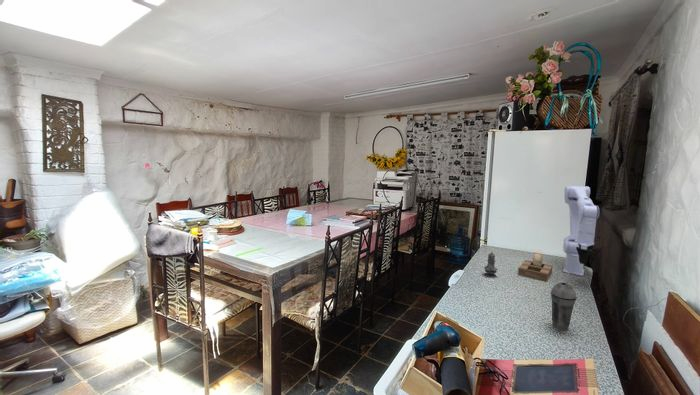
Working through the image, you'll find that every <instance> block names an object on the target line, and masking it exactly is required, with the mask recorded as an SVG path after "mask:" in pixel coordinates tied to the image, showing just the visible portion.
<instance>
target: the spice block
mask: <svg viewBox="0 0 700 395" xmlns="http://www.w3.org/2000/svg"><path fill="white" fill-rule="evenodd" d="M553 268H554V266H553V265H552V264H547V263H543V262H542V267H537V266H533V260H528V259H525V260H524V261H523V263H521V264H520V266H519V267H518V269H517V270H518V271H517V276H522V277H525V278H529V279H535V280H539V281H543V282H547V281H548V280H549V279H550V277H551V275H552V273H553Z"/></svg>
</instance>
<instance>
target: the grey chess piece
mask: <svg viewBox="0 0 700 395" xmlns="http://www.w3.org/2000/svg"><path fill="white" fill-rule="evenodd" d="M495 257H496V254H494V253H493V251H491V252H490V253H488V257H487V260H486V261H487V265H486V266H484V267H483V269H484V272H485V273H484V276H485V277H488V278H497V275H496V273H497V272H498V268H497V267H496V266H495V262H496V260H495V259H496V258H495Z"/></svg>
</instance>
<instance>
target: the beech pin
mask: <svg viewBox="0 0 700 395" xmlns="http://www.w3.org/2000/svg"><path fill="white" fill-rule="evenodd" d="M543 255H544V254H543V253H541V252H535V251H534V252H533V255H532V261H533V266H537V267H542V263H543V257H544V256H543Z"/></svg>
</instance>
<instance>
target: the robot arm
mask: <svg viewBox="0 0 700 395" xmlns="http://www.w3.org/2000/svg"><path fill="white" fill-rule="evenodd" d="M590 195H591V187H589V186H587V185H586V186H584V185H583V186H580V185H566V186H565V188H564V203H566V204H568V208H569V235H567V236H566V237H564V239H563V245H562V246H563V247H562V248H563V250H562V251H563V252H564V253H565V254H566V255H565V264H564V267H563V270H562V272H563V273H566V274H568V271H570V275H577V276H582V277H583V276H584V273H585V269H584V265H586V264H587V262H588V259H589V256H590V254H591V253H592V252H593V248H594V245H595V236H596V225H597V220H598V218H599V217H600V208H599V205H595V204H594V203H593V200H592V199H591V198H590Z"/></svg>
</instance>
